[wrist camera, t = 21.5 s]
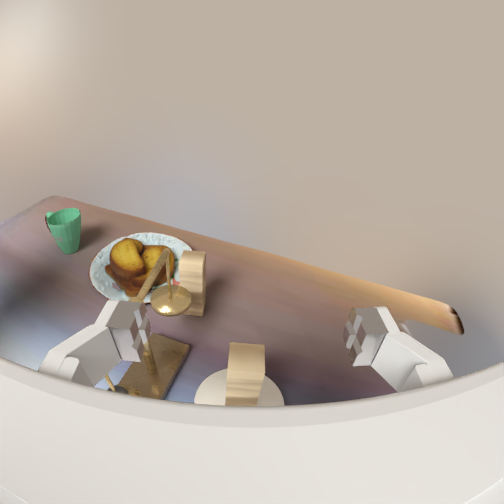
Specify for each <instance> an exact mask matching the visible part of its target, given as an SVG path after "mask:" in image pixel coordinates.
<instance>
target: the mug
mask: <svg viewBox="0 0 504 504" xmlns="http://www.w3.org/2000/svg"><path fill="white" fill-rule="evenodd" d="M45 221H46V224H47V227H48V229H49V231H50V232H51V234H52V235H53V237H54V239H55V241H56V243H57V244H58V246H59V247H60V248H61V250H62V251H63V252H64V253H65V254H72V253H74V252H76V251H77V250H78V249H79V243H80V232H81V213H80V210H78V209H76V208H67V209H62V210H59V211H57V212H55V213H53V212H48V213H47V214H46V217H45Z"/></svg>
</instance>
